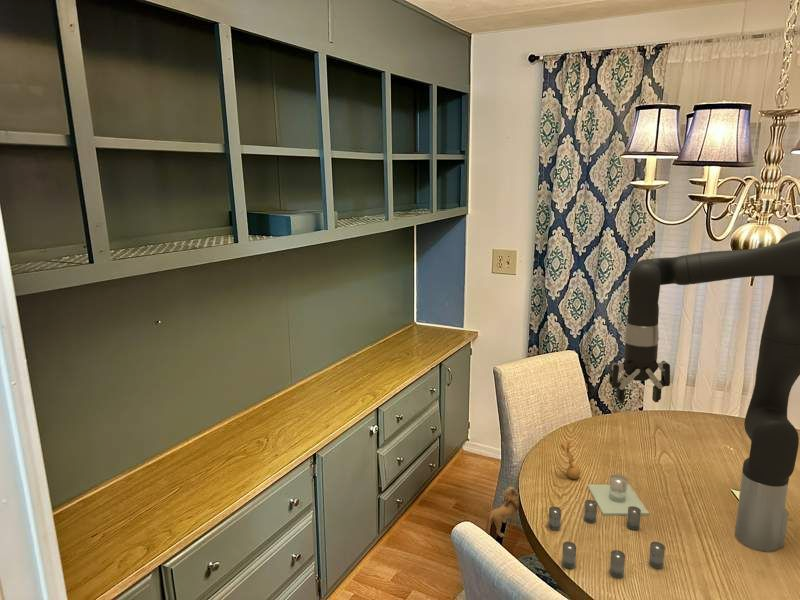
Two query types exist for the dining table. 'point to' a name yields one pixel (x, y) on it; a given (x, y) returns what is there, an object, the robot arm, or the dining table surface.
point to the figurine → (570, 461)
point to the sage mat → (614, 508)
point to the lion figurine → (504, 511)
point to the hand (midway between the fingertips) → (638, 401)
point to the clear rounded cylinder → (618, 488)
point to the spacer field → (616, 556)
